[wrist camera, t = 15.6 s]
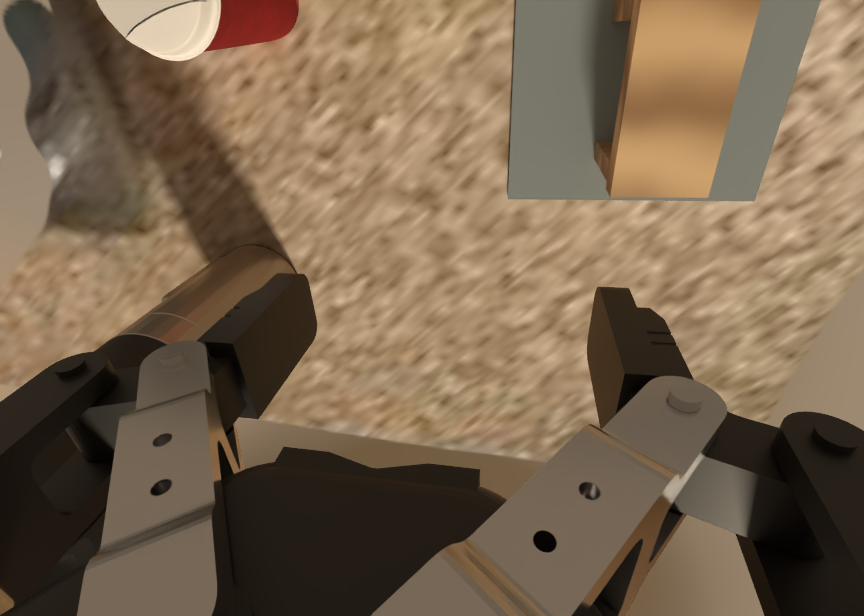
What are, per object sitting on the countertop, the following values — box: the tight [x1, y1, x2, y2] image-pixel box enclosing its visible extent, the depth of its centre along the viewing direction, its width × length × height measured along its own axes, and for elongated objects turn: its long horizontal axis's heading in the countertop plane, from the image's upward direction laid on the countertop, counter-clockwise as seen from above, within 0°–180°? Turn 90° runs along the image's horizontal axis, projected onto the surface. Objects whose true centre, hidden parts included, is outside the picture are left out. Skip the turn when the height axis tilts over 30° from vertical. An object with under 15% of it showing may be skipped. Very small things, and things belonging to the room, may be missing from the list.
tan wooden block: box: [594, 0, 762, 198], centre depth 30 cm, size 12×6×9 cm, turn 3°
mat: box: [508, 0, 821, 201], centre depth 34 cm, size 20×18×1 cm
